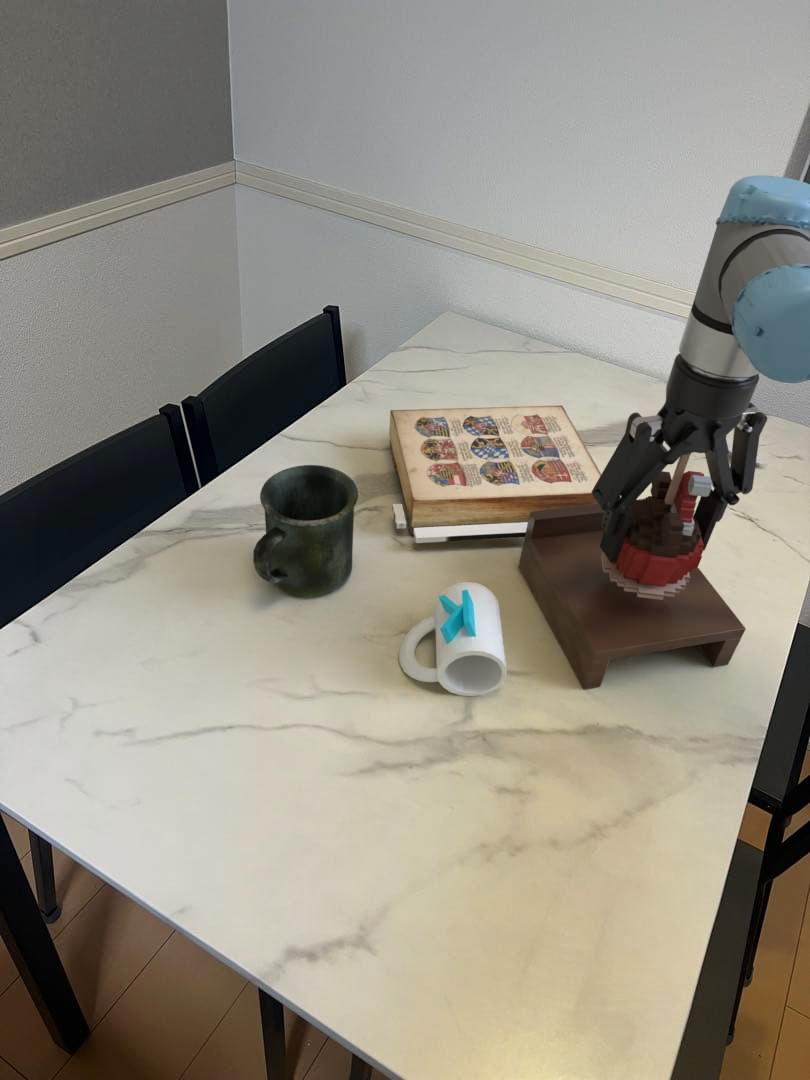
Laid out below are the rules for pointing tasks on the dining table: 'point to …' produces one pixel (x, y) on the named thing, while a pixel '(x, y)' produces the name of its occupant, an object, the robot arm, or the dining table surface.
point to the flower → (756, 459)
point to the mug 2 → (461, 642)
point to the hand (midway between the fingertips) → (652, 548)
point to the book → (486, 469)
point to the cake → (662, 536)
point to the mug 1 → (307, 530)
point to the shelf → (614, 600)
